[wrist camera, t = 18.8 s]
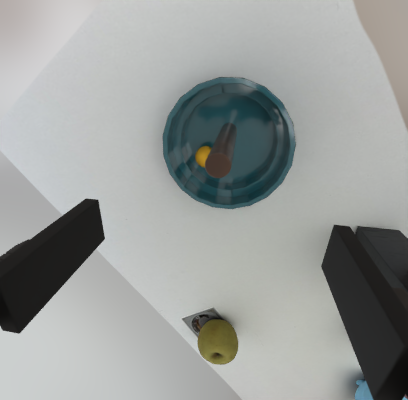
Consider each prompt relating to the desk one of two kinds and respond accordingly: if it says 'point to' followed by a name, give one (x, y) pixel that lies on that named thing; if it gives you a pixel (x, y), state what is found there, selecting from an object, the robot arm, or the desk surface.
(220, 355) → the apple
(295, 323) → the desk surface
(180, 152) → the bowl
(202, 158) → the ball
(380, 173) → the desk surface
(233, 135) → the stick
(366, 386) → the teapot
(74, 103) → the desk surface
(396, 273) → the holder
